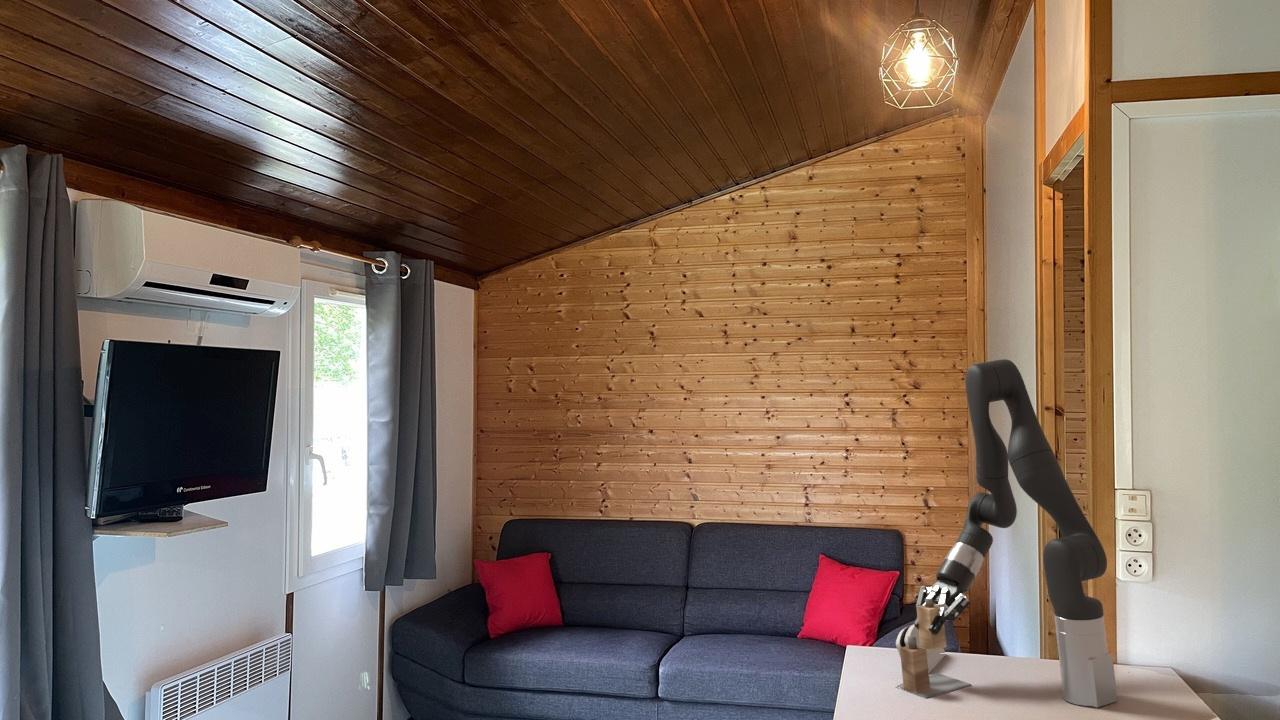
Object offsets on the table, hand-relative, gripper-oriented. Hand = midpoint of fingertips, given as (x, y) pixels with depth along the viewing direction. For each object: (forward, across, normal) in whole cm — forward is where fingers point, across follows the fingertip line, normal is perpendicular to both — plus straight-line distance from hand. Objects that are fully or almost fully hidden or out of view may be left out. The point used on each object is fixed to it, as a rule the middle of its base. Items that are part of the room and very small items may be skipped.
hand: (925, 630), depth 203 cm
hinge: (+2, -14, +17) cm, 22 cm away
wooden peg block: (+2, 0, +4) cm, 4 cm away
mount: (+9, 0, +9) cm, 12 cm away
